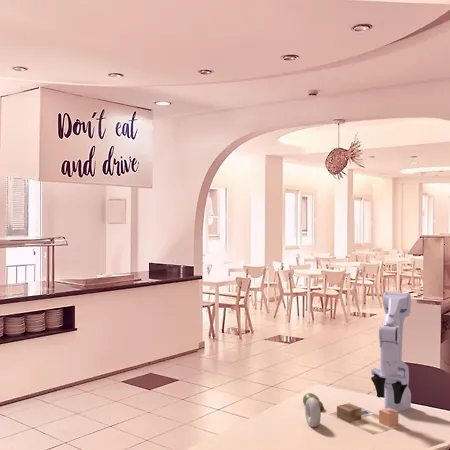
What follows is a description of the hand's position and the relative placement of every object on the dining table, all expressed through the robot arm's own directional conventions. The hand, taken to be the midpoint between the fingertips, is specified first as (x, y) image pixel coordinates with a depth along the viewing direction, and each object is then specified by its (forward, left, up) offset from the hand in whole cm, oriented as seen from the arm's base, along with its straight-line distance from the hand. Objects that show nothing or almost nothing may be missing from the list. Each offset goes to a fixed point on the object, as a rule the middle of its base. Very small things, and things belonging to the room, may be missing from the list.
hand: (388, 400), depth 192 cm
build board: (+4, -7, -9) cm, 12 cm away
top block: (0, 0, -8) cm, 8 cm away
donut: (+23, -13, -9) cm, 28 cm away
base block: (+8, -11, -8) cm, 16 cm away
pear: (+11, -27, -9) cm, 30 cm away
